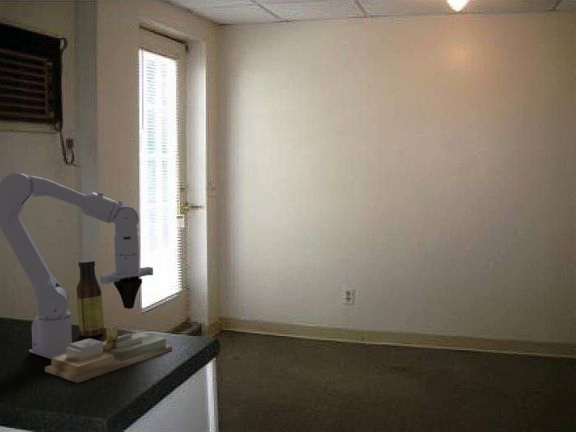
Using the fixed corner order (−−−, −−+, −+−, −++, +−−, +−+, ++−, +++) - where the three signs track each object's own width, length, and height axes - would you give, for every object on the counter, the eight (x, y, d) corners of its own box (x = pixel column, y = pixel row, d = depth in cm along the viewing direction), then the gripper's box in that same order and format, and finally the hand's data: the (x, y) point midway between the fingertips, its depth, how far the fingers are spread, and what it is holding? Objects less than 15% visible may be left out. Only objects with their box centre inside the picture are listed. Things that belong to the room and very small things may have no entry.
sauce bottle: (109, 332, 157) (106, 259, 156) (94, 338, 151) (91, 263, 150) (88, 330, 160) (85, 258, 158) (73, 336, 154) (70, 262, 152)
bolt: (82, 353, 129) (81, 334, 129) (113, 343, 136) (112, 326, 136) (88, 355, 128) (88, 336, 128) (119, 345, 135) (119, 327, 134)
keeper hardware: (66, 357, 128) (65, 344, 127) (129, 338, 141) (128, 327, 141) (79, 361, 125) (78, 348, 125) (142, 341, 138) (141, 330, 138)
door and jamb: (45, 371, 128) (44, 358, 127) (139, 341, 148) (139, 330, 148) (77, 383, 121) (76, 368, 120) (172, 350, 141) (171, 338, 141)
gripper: (112, 259, 136) (114, 316, 137) (160, 251, 147) (161, 304, 149) (94, 256, 140) (96, 312, 141) (142, 249, 152) (143, 300, 153)
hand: (128, 307), depth 145 cm, fingers closed
